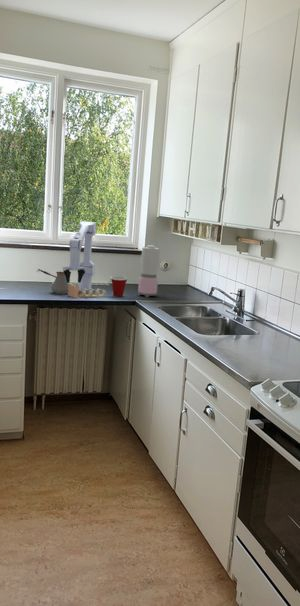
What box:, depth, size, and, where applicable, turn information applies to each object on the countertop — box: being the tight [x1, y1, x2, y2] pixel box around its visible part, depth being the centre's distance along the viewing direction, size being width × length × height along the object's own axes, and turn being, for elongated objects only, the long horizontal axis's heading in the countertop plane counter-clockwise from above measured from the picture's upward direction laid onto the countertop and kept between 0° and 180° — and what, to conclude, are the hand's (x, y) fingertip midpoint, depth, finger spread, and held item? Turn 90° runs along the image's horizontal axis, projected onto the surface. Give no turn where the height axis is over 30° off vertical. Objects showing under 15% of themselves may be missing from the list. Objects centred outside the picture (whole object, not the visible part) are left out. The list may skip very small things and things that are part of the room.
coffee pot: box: [37, 268, 70, 295], centre depth 307 cm, size 21×12×15 cm, turn 124°
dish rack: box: [78, 287, 108, 299], centre depth 311 cm, size 11×17×4 cm, turn 128°
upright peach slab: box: [67, 283, 80, 299], centre depth 303 cm, size 8×2×7 cm, turn 38°
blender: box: [137, 244, 160, 298], centre depth 326 cm, size 16×12×32 cm
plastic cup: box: [110, 275, 128, 298], centre depth 316 cm, size 11×11×12 cm
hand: (73, 282), depth 302 cm, fingers open, 7 cm apart
